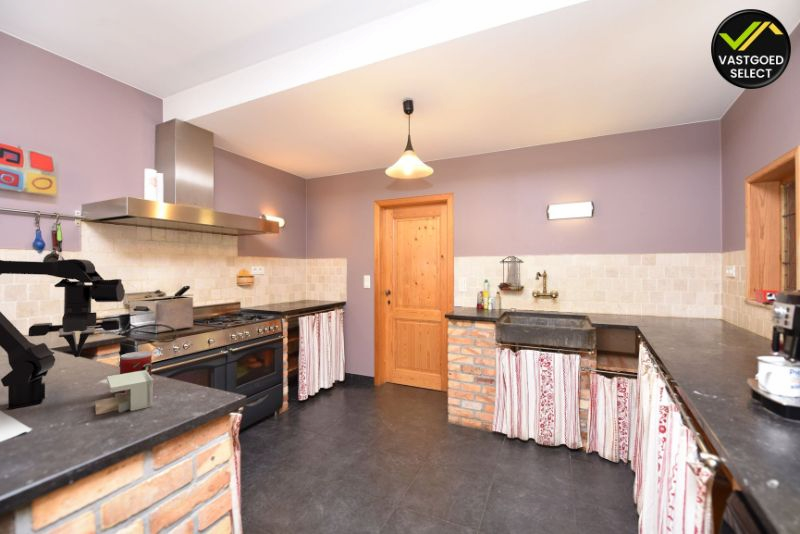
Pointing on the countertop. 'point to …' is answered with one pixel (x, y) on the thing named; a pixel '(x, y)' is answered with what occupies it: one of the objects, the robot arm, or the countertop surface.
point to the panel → (110, 404)
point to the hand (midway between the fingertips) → (76, 356)
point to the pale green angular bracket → (133, 389)
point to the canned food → (135, 363)
